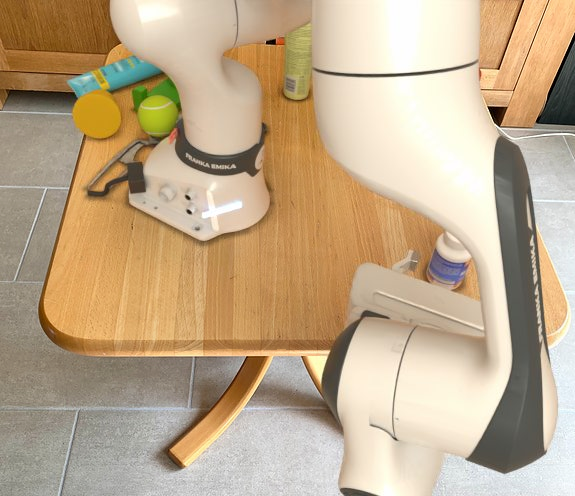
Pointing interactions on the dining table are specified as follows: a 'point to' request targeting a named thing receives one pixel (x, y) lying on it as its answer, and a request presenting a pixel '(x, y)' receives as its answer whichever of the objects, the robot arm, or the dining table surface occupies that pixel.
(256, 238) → the dining table surface
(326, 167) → the dining table surface
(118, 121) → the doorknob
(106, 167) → the nutcracker
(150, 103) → the tennis ball
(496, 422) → the robot arm
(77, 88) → the tube
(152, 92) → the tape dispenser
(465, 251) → the pill bottle
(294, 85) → the tube
